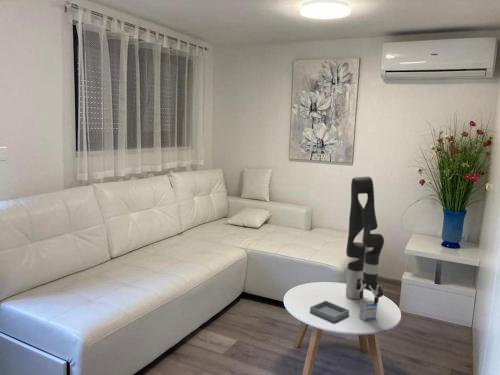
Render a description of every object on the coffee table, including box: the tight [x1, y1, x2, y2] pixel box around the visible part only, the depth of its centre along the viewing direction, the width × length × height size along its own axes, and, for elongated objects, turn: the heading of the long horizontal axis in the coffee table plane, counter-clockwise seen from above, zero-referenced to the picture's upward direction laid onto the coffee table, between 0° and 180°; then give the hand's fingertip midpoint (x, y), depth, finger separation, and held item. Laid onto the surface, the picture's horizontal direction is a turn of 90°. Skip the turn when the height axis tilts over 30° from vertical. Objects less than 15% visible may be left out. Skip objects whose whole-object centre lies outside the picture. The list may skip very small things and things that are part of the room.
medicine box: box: [358, 300, 378, 322], centre depth 213 cm, size 8×4×9 cm, turn 114°
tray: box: [309, 300, 350, 324], centre depth 216 cm, size 14×16×3 cm
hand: (368, 301), depth 211 cm, fingers open, 8 cm apart
